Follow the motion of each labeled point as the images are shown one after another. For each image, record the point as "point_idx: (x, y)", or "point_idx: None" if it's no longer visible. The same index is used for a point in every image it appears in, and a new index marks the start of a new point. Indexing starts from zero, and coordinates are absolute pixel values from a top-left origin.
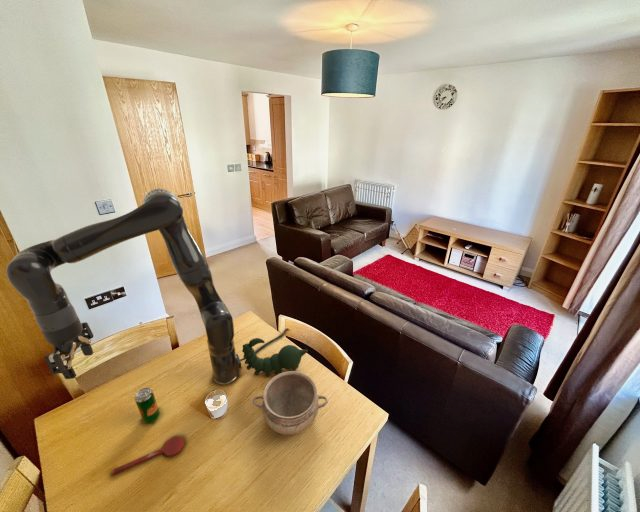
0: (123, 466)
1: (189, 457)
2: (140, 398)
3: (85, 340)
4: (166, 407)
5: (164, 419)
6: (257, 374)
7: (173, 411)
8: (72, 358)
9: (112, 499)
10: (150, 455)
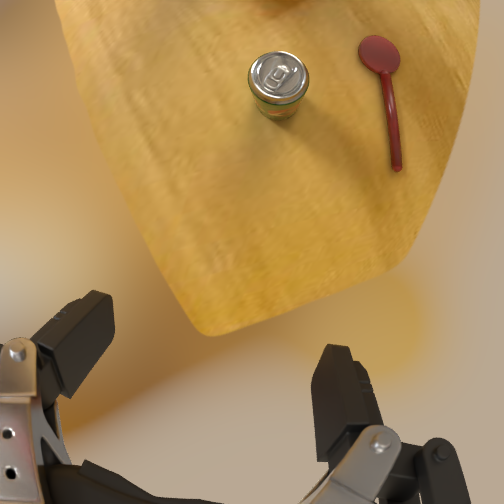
0: (398, 149)
1: (407, 35)
2: (300, 81)
3: (12, 425)
4: None
5: None
6: None
7: None
8: (349, 496)
9: (437, 166)
10: (392, 96)
